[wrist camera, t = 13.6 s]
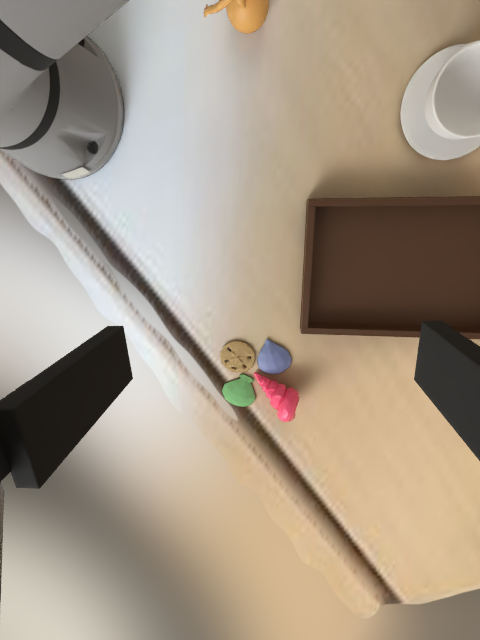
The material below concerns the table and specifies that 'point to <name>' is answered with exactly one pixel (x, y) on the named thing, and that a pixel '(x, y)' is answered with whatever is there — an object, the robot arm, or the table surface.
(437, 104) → the teacup
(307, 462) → the table surface
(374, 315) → the tray
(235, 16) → the figurine
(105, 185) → the table surface
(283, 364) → the toy pieces
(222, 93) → the table surface
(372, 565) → the table surface
